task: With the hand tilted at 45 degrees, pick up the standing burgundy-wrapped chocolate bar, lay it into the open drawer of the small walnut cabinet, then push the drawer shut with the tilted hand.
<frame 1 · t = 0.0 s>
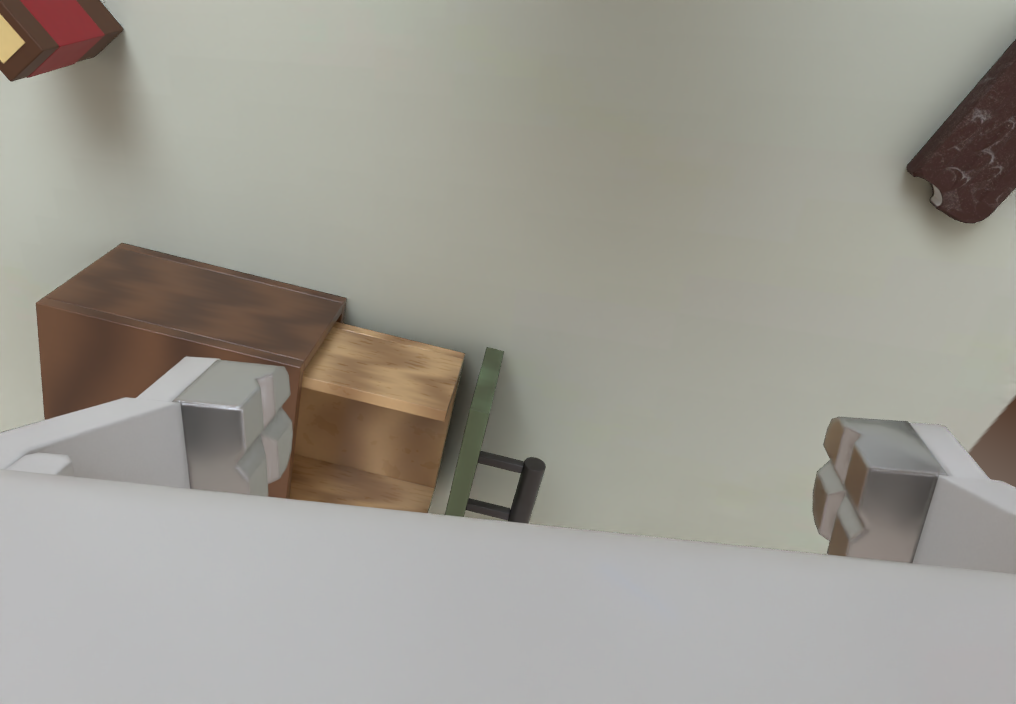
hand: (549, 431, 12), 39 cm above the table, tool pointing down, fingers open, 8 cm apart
chocolate bar: (83, 12, 48), on the table
drawer: (402, 445, 55), point 5 cm above the table, slide at 10.0 cm
cabinet: (229, 360, 59), on the table
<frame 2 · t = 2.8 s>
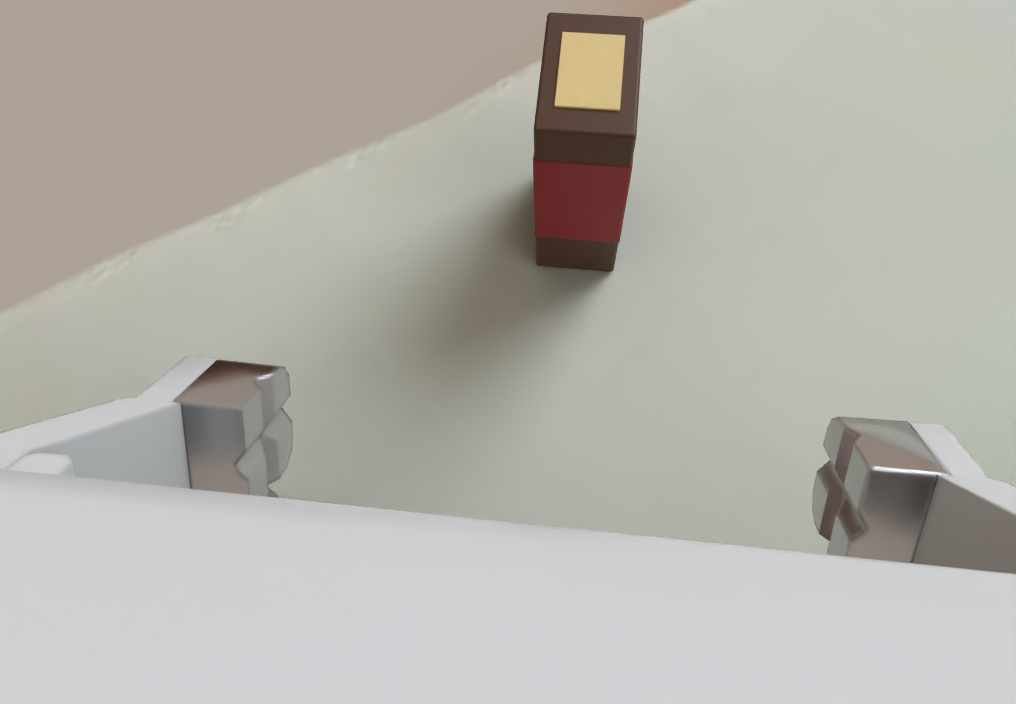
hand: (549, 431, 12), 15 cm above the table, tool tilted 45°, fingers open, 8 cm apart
chocolate bar: (579, 219, 31), on the table
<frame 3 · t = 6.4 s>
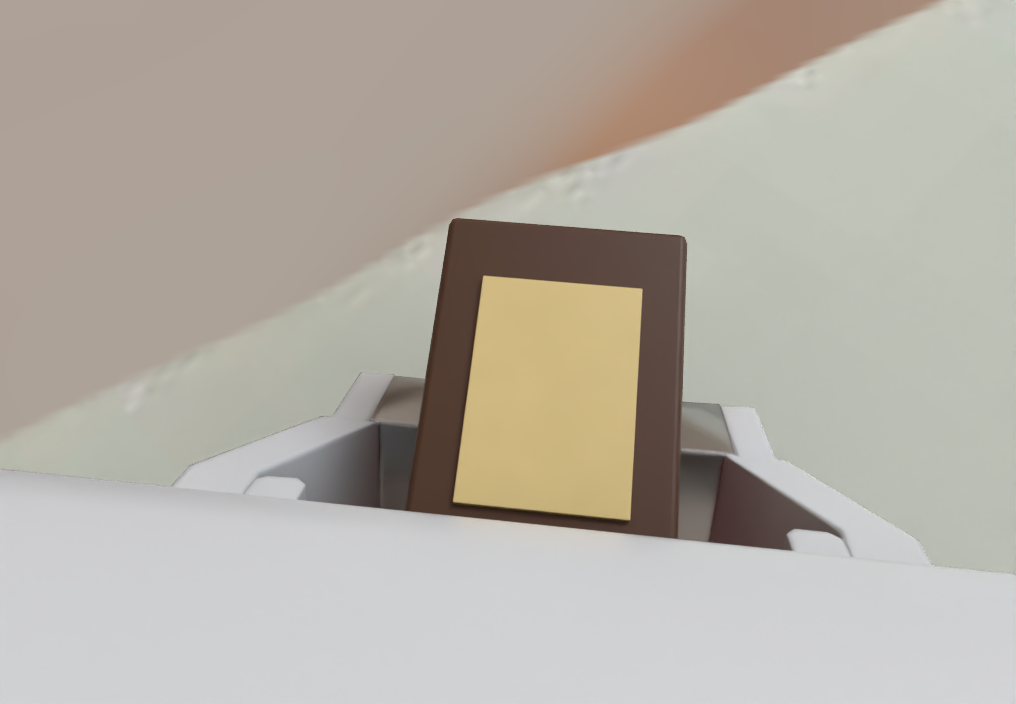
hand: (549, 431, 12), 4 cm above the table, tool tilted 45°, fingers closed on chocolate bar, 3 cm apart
chocolate bar: (544, 526, 16), on the table, touching gripper
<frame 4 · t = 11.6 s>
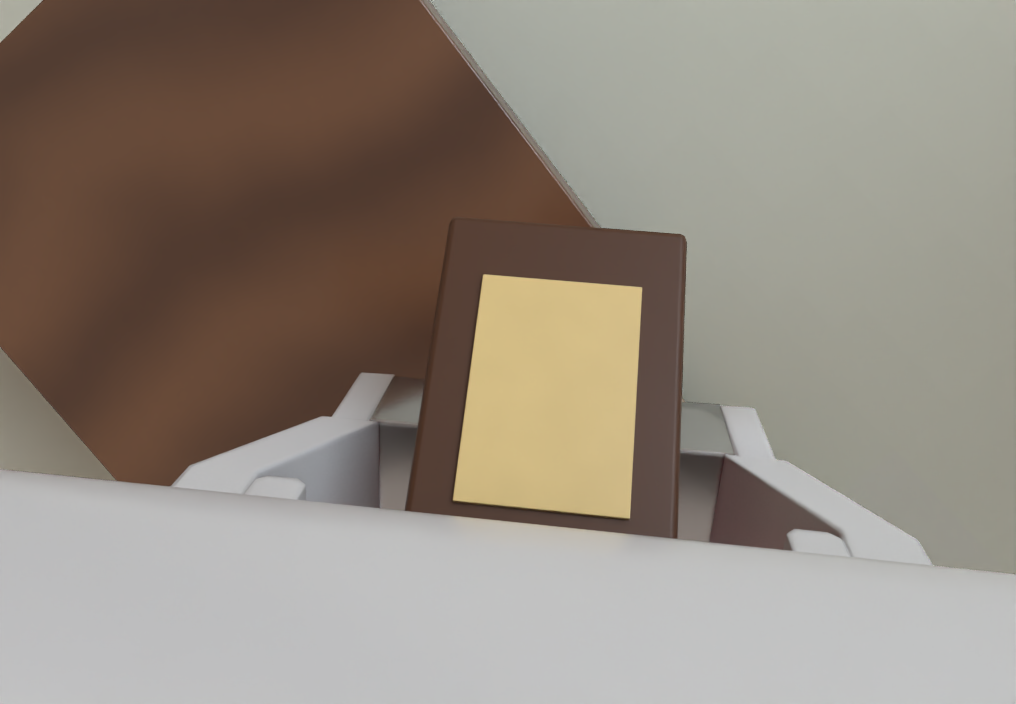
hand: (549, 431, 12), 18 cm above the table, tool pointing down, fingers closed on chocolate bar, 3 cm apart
chocolate bar: (545, 525, 16), point 15 cm above the table, tilted 34°, touching gripper
drawer: (577, 570, 27), point 5 cm above the table, slide at 10.0 cm
cabinet: (350, 228, 30), on the table
when the fingers open (6 cm above the table, at t = 16.2 s): chocolate bar moves 2 cm and tips over, resting on drawer.
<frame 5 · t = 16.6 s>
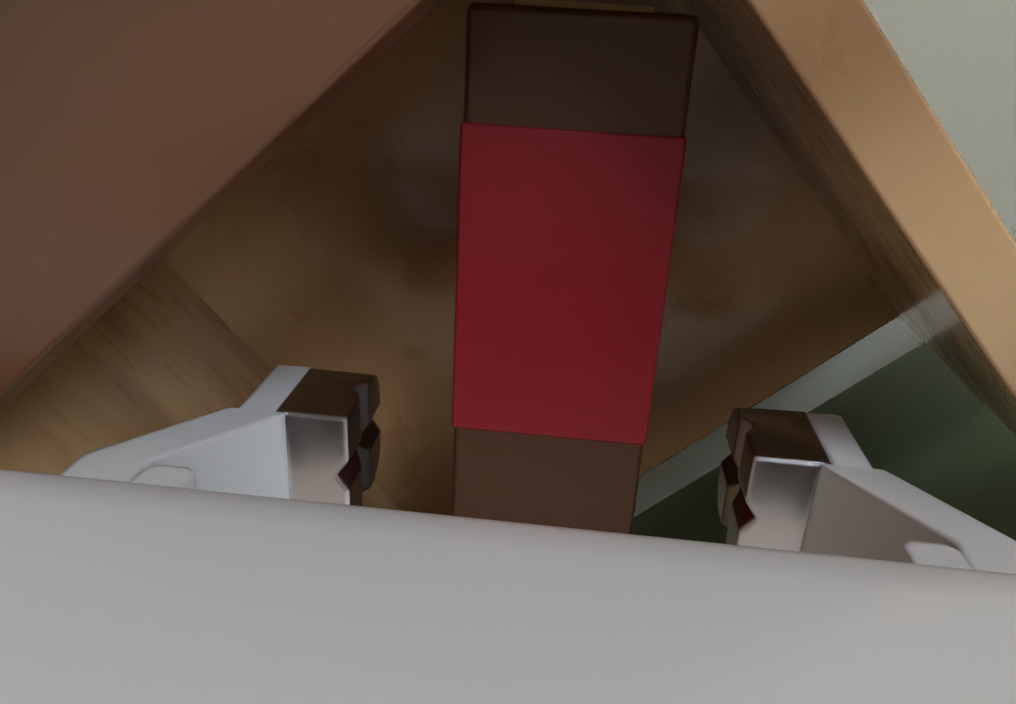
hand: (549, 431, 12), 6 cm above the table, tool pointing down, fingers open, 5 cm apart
chocolate bar: (545, 487, 15), point 4 cm above the table, tilted 90°, touching drawer
drawer: (586, 437, 14), point 5 cm above the table, slide at 10.0 cm, touching chocolate bar
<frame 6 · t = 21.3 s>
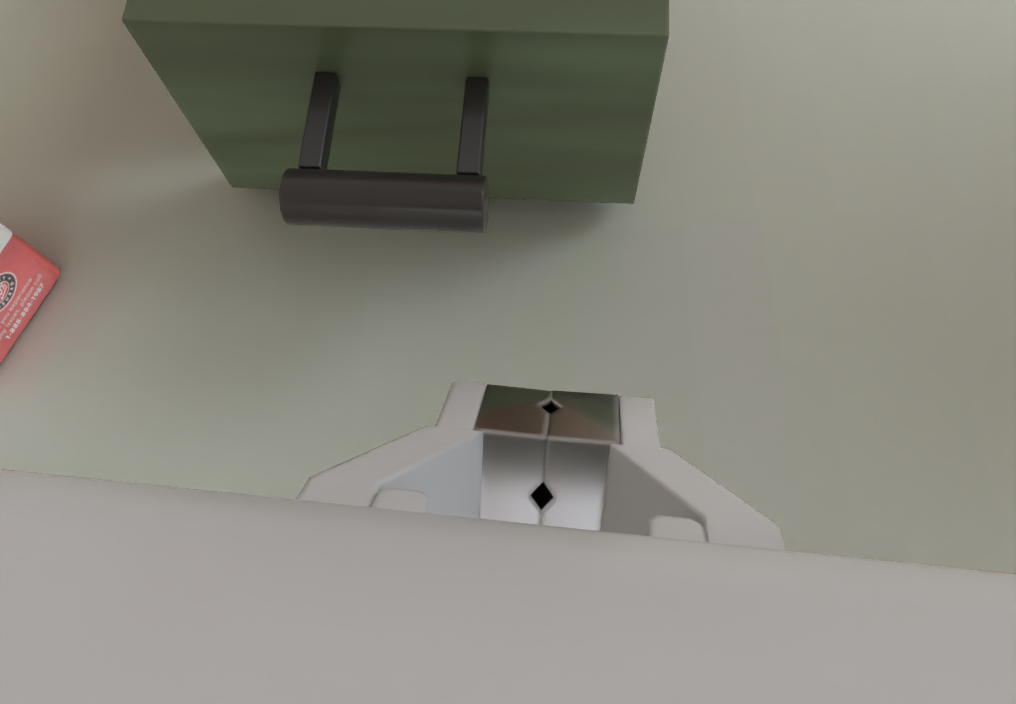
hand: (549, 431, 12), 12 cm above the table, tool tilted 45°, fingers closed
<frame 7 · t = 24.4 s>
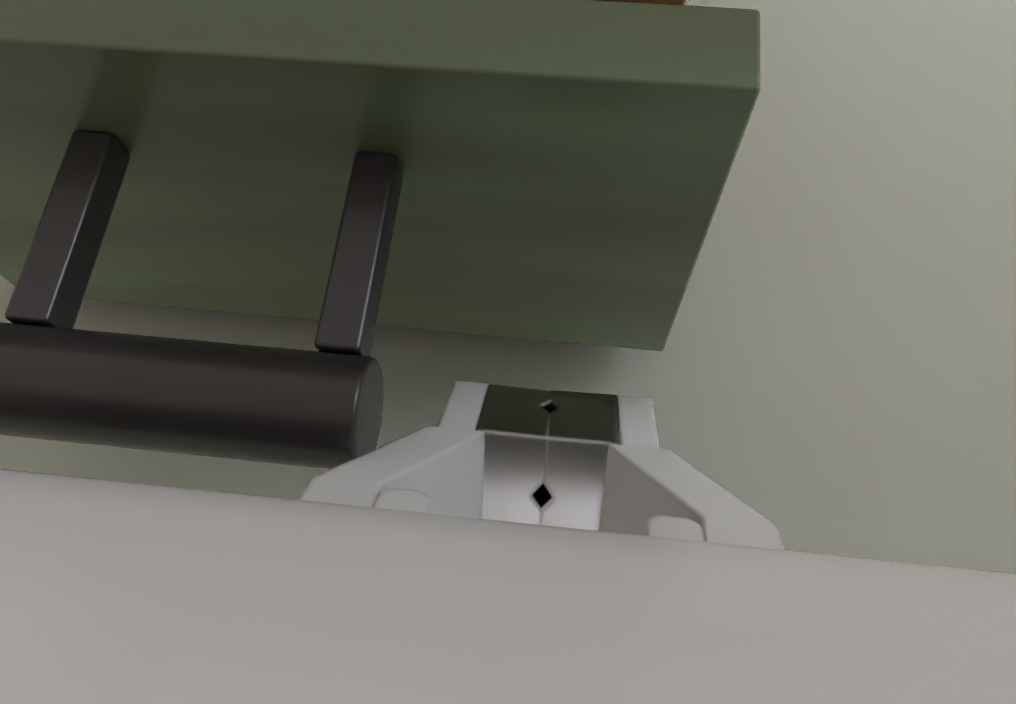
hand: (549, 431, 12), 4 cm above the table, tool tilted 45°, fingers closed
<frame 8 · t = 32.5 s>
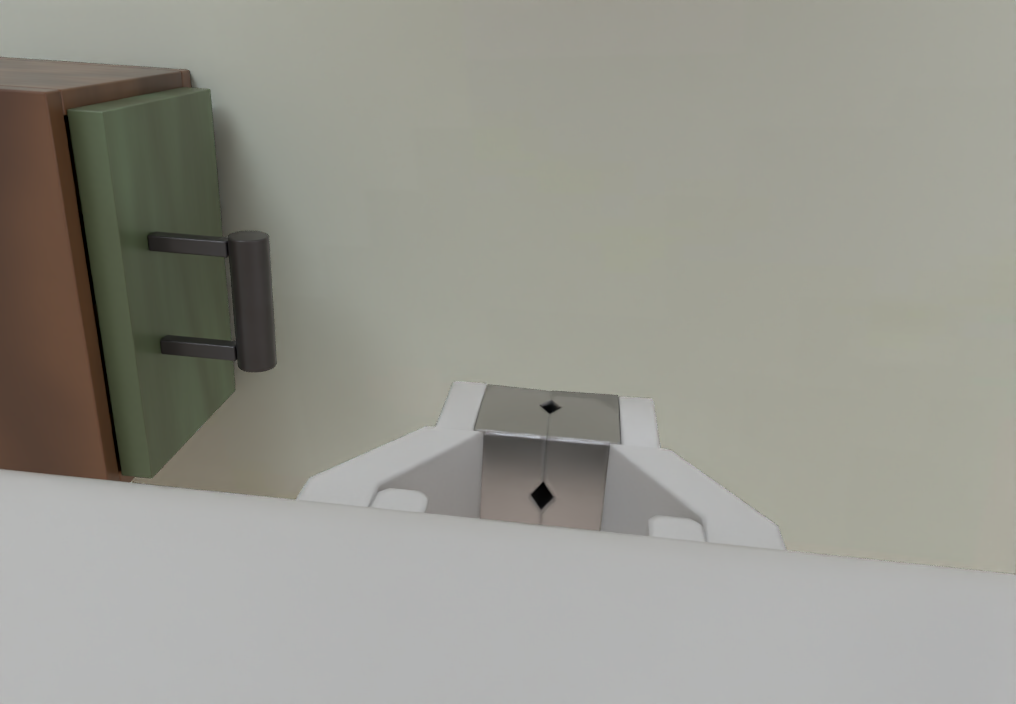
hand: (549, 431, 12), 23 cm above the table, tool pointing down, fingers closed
chocolate bar: (88, 298, 33), point 4 cm above the table, tilted 90°, touching drawer
drawer: (57, 267, 32), point 5 cm above the table, slide at 0.0 cm, touching cabinet, chocolate bar
cabinet: (39, 229, 37), on the table
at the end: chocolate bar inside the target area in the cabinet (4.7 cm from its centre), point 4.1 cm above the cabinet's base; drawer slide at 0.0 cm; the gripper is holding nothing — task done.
